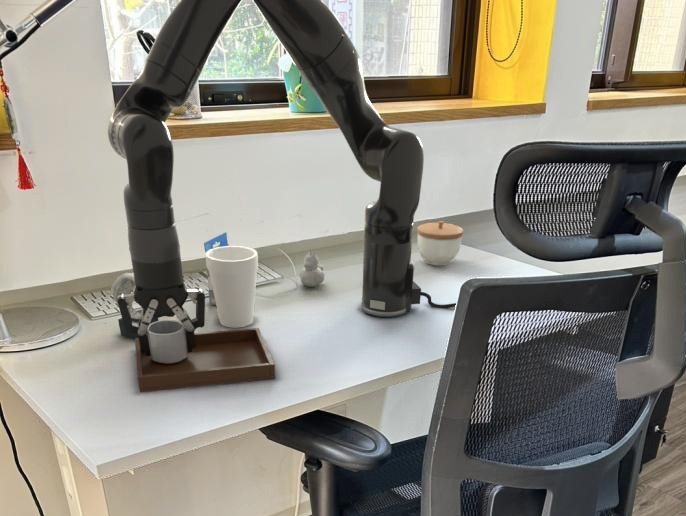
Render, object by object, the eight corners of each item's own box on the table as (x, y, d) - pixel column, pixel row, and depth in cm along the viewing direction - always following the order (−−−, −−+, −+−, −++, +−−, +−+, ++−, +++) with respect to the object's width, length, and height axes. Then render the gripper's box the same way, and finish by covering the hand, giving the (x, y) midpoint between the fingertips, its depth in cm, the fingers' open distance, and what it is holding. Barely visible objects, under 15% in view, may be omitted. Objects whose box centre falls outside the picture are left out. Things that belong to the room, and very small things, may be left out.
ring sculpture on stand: (134, 323, 134) (125, 265, 127) (167, 332, 131) (159, 274, 124) (112, 333, 130) (101, 274, 123) (145, 343, 127) (136, 283, 120)
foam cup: (251, 333, 132) (247, 263, 124) (204, 327, 133) (197, 258, 126) (267, 314, 139) (264, 248, 132) (222, 309, 141) (216, 243, 133)
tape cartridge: (226, 307, 142) (221, 245, 135) (208, 304, 143) (203, 243, 136) (246, 293, 148) (243, 233, 141) (230, 291, 150) (225, 231, 142)
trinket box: (408, 256, 173) (411, 216, 167) (448, 253, 176) (452, 214, 170) (424, 270, 164) (428, 229, 159) (466, 267, 167) (471, 226, 162)
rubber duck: (293, 286, 153) (292, 249, 148) (311, 278, 158) (311, 242, 153) (313, 291, 151) (313, 254, 146) (331, 283, 155) (331, 246, 151)
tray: (259, 341, 129) (258, 327, 127) (275, 378, 117) (274, 364, 115) (136, 351, 124) (134, 337, 122) (139, 392, 111) (137, 377, 110)
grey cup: (187, 348, 123) (183, 318, 120) (190, 363, 118) (186, 332, 115) (149, 351, 122) (145, 321, 119) (151, 367, 117) (146, 336, 114)
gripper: (107, 263, 105) (125, 365, 115) (204, 257, 109) (214, 357, 118) (107, 248, 111) (124, 347, 121) (199, 243, 115) (209, 339, 124)
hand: (169, 351), depth 120 cm, fingers closed on grey cup, 6 cm apart
